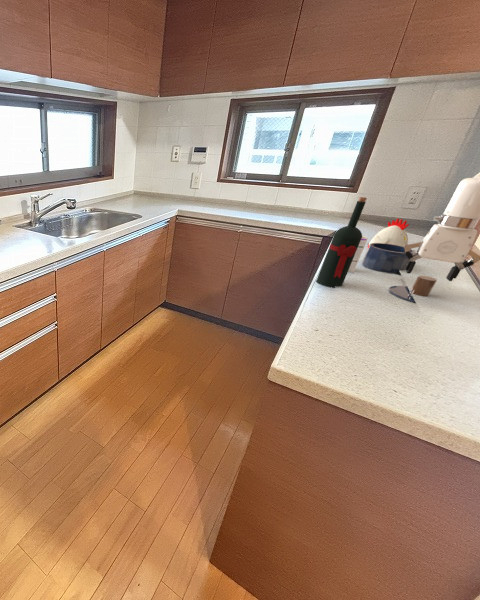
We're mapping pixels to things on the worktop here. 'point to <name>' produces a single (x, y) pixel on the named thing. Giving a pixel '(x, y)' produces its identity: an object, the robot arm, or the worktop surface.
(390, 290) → the lid
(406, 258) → the pot
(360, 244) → the syrup box
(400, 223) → the chicken figurine
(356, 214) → the wine bottle
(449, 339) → the worktop surface
